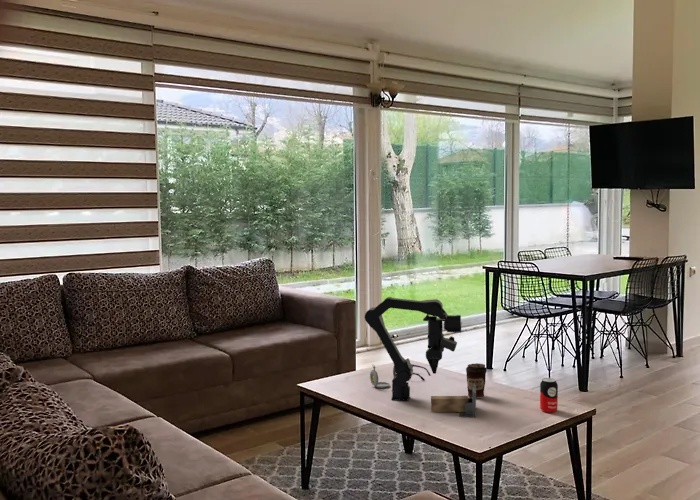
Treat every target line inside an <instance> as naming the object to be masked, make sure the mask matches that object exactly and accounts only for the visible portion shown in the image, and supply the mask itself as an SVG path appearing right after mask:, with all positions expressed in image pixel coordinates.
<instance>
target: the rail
mask: <svg viewBox="0 0 700 500" xmlns="http://www.w3.org/2000/svg"><path fill="white" fill-rule="evenodd" d="M468 398H469V396H468V395H431V396H430V408H431V409H430V410H431V411H430V412H431V413H433V412H434V413H438V412H439V413H443V412H445V413H449V412H450V413H452V412H454V413H456V412H457V413H459V412H465V402H466V403H469V400H468Z"/></svg>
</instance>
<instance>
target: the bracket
mask: <svg viewBox="0 0 700 500" xmlns="http://www.w3.org/2000/svg"><path fill="white" fill-rule="evenodd" d="M468 400H469V403H466V402H465V412H458V414H459V415H458V417H460V418H476V415H477V413H476V412H477V398H476V383H473V390H472V398H471V397H468Z"/></svg>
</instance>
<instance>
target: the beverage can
mask: <svg viewBox="0 0 700 500" xmlns="http://www.w3.org/2000/svg"><path fill="white" fill-rule="evenodd" d="M539 385H540V386H539V388H540V389H539V391H540V392H539V394H540V395H539V408H540V410H541V411H542V412H543V413H547V414H549V413H550V414H552V413H555V412H557V410H558V406H559V405H558V403H559V402H558V401H559V400H558V397H559V395H558V394H559V393H558V392H559V391H558V390H559V389H558V388H559V386H558V383H557V379H555V378H552V377H544V378H542V379H541V382H540V384H539Z"/></svg>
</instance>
